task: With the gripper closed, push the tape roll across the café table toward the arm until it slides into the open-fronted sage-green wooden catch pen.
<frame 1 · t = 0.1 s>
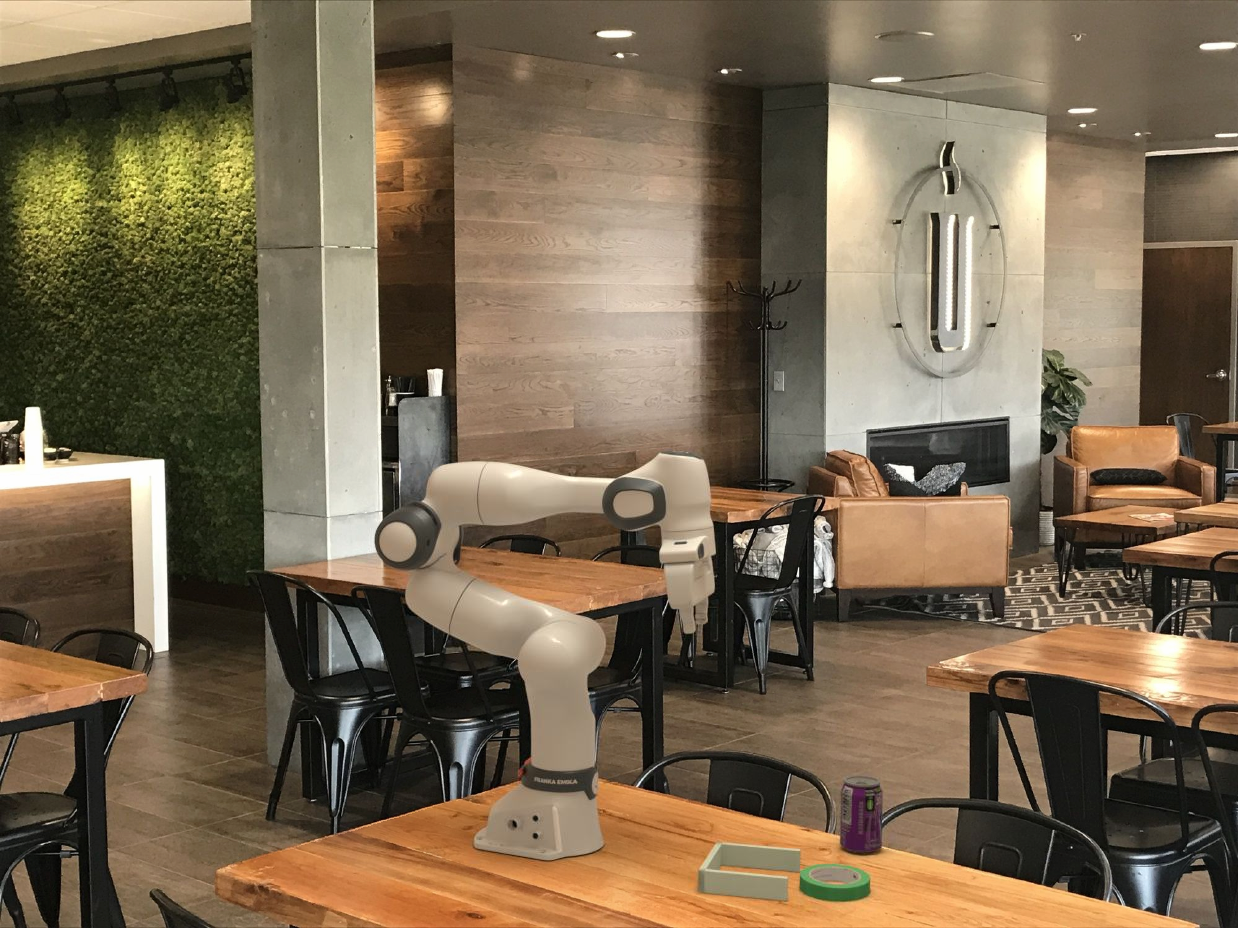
hand: (696, 628, 245), 39 cm above the table, tool pointing down, fingers open, 8 cm apart
tape roll: (834, 892, 231), on the table
beverage can: (860, 850, 251), on the table
catch pen: (753, 881, 234), on the table
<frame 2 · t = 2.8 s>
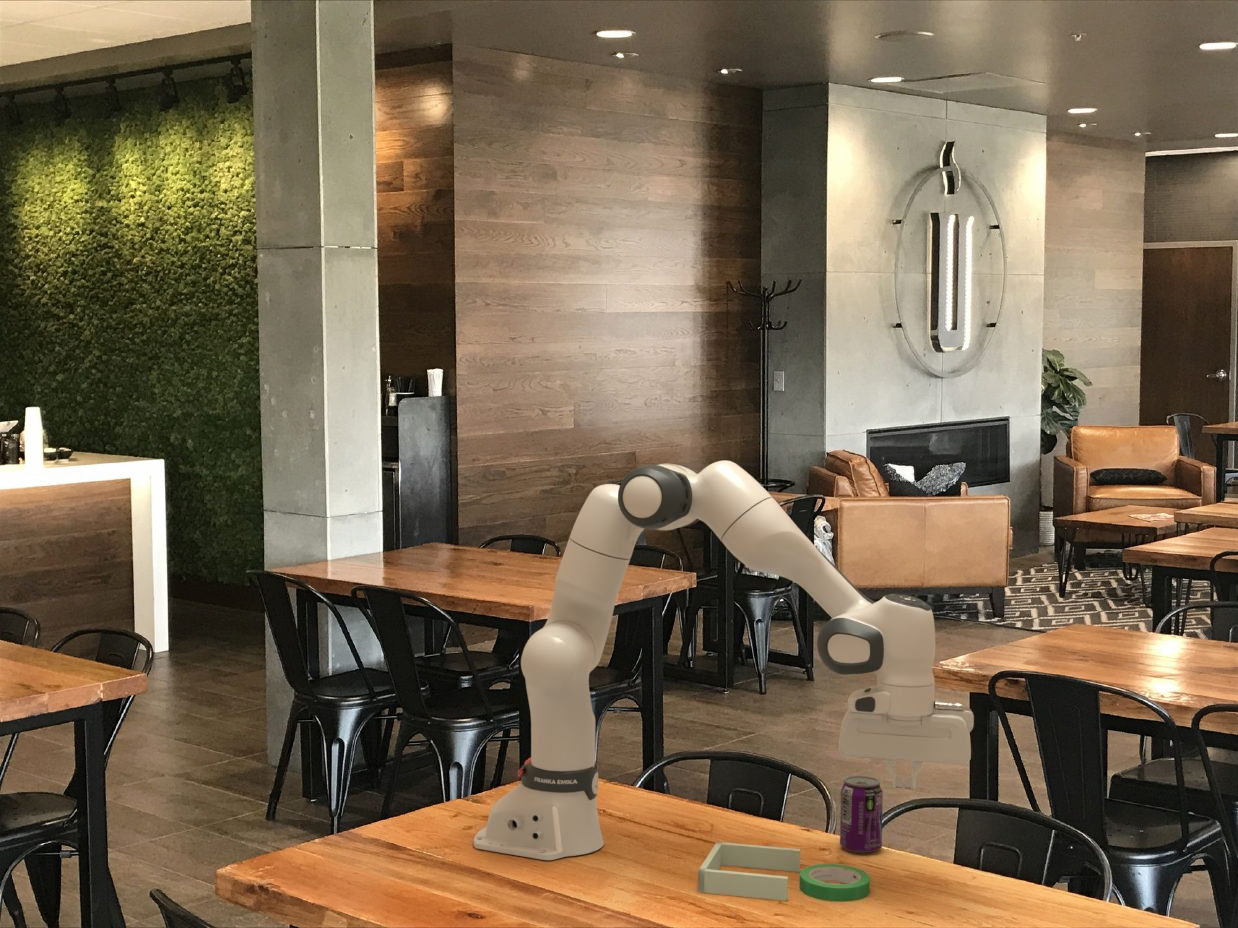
hand: (903, 787, 227), 17 cm above the table, tool pointing down, fingers closed
nothing on the table moved.
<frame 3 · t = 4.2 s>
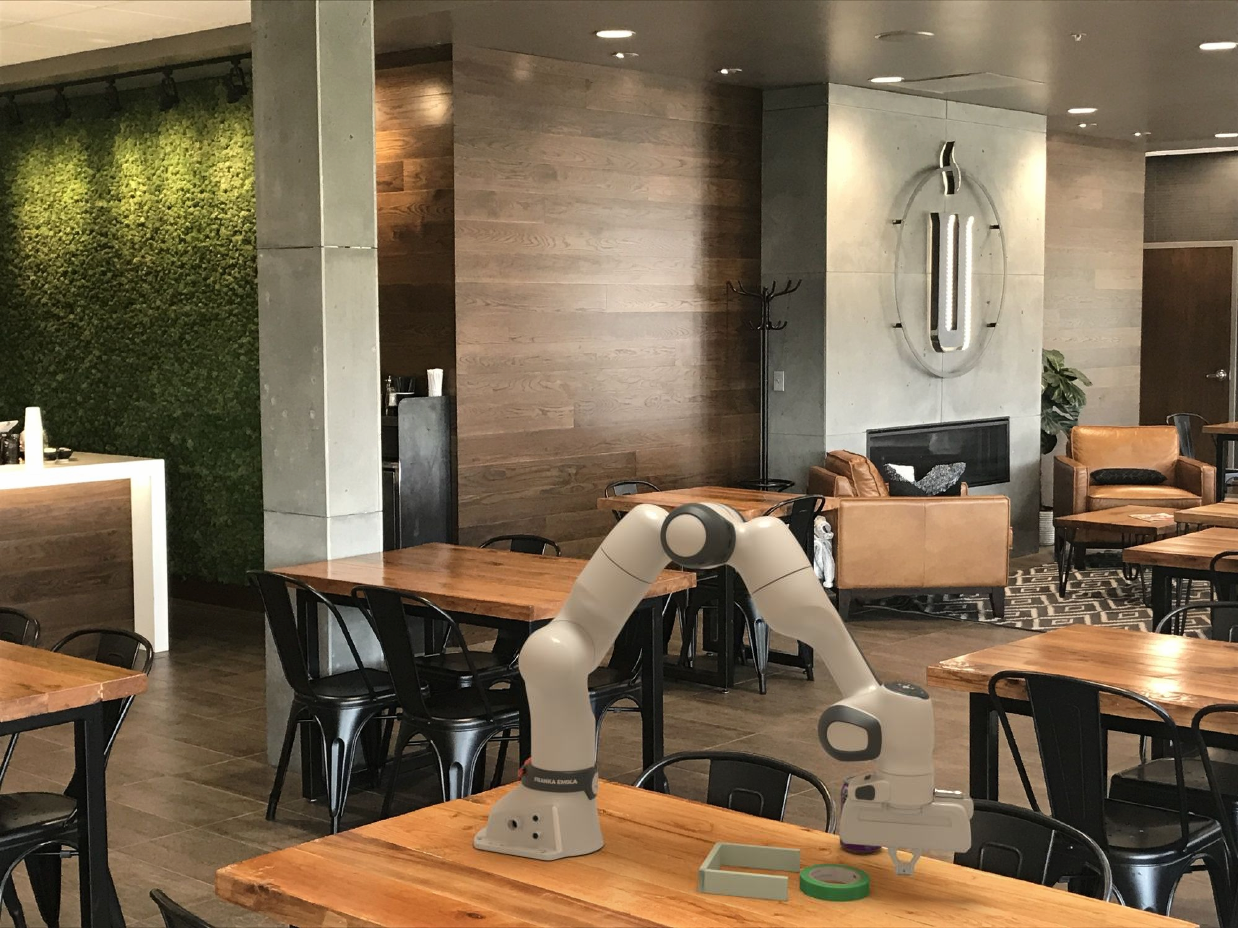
hand: (904, 874, 228), 3 cm above the table, tool pointing down, fingers closed
nothing on the table moved.
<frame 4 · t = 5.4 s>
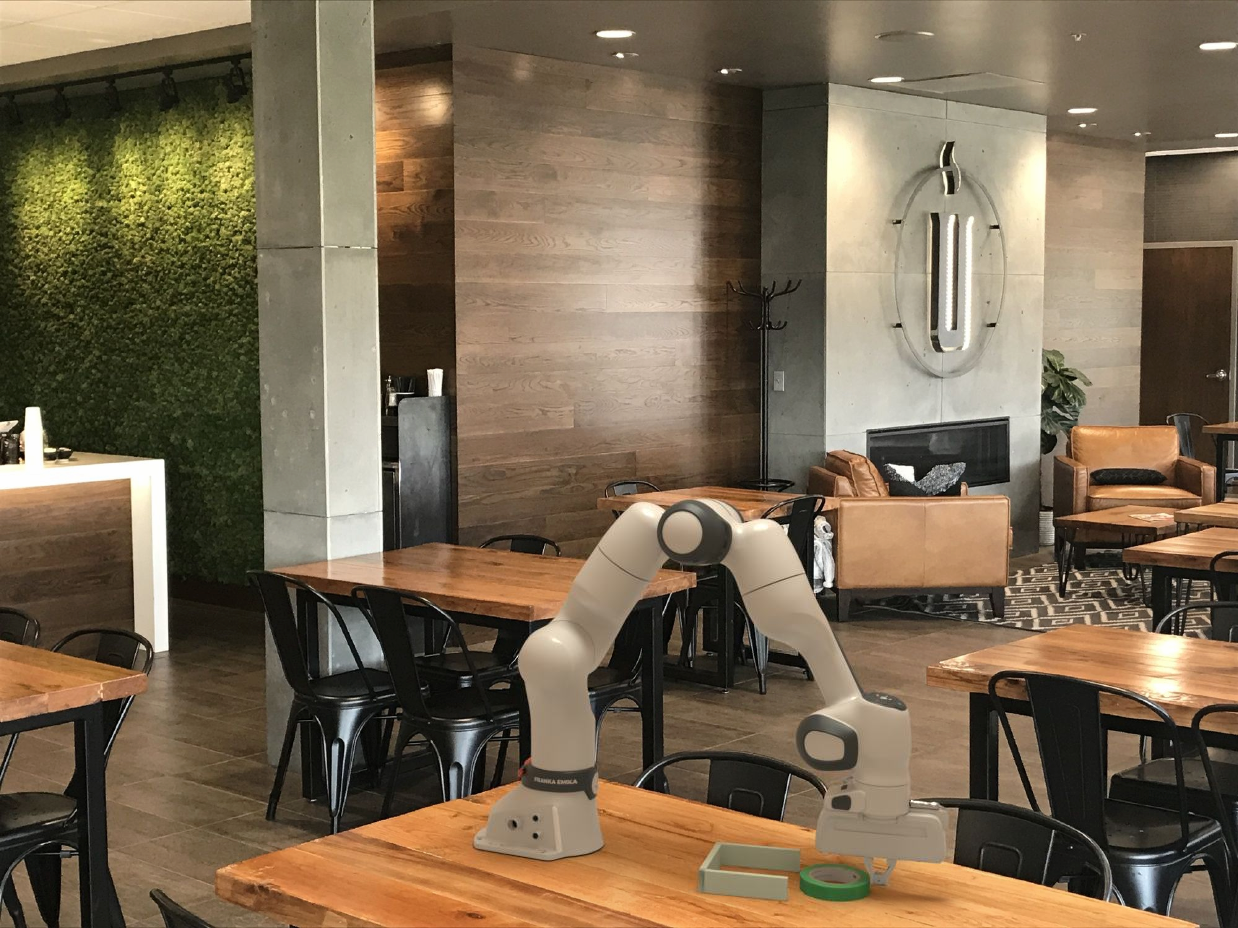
hand: (879, 884, 229), 1 cm above the table, tool pointing down, fingers closed
tape roll: (834, 892, 231), on the table, touching gripper
everything else where it was.
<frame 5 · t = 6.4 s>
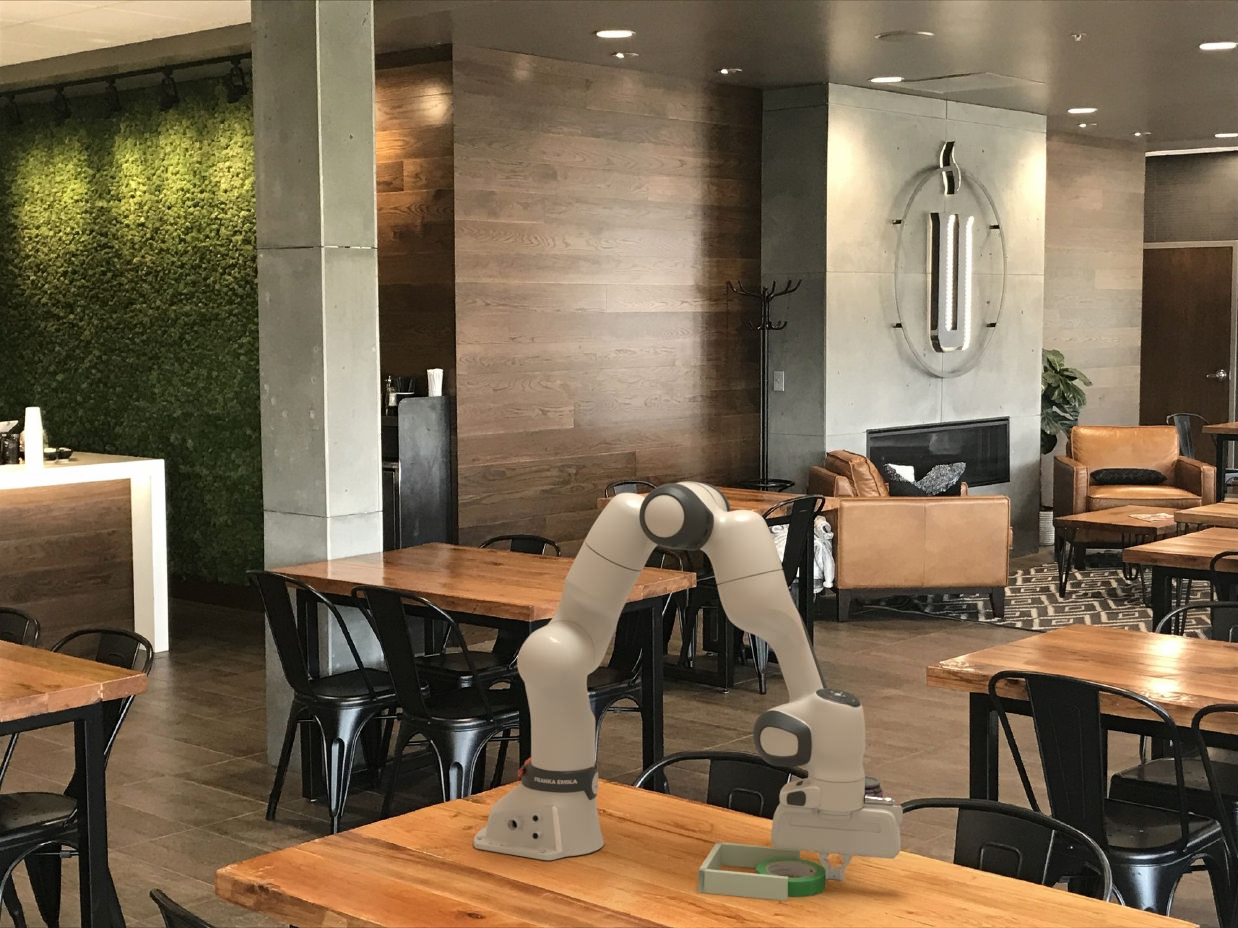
hand: (834, 879, 231), 2 cm above the table, tool pointing down, fingers closed
tape roll: (790, 886, 233), on the table, touching gripper
everything else where it was.
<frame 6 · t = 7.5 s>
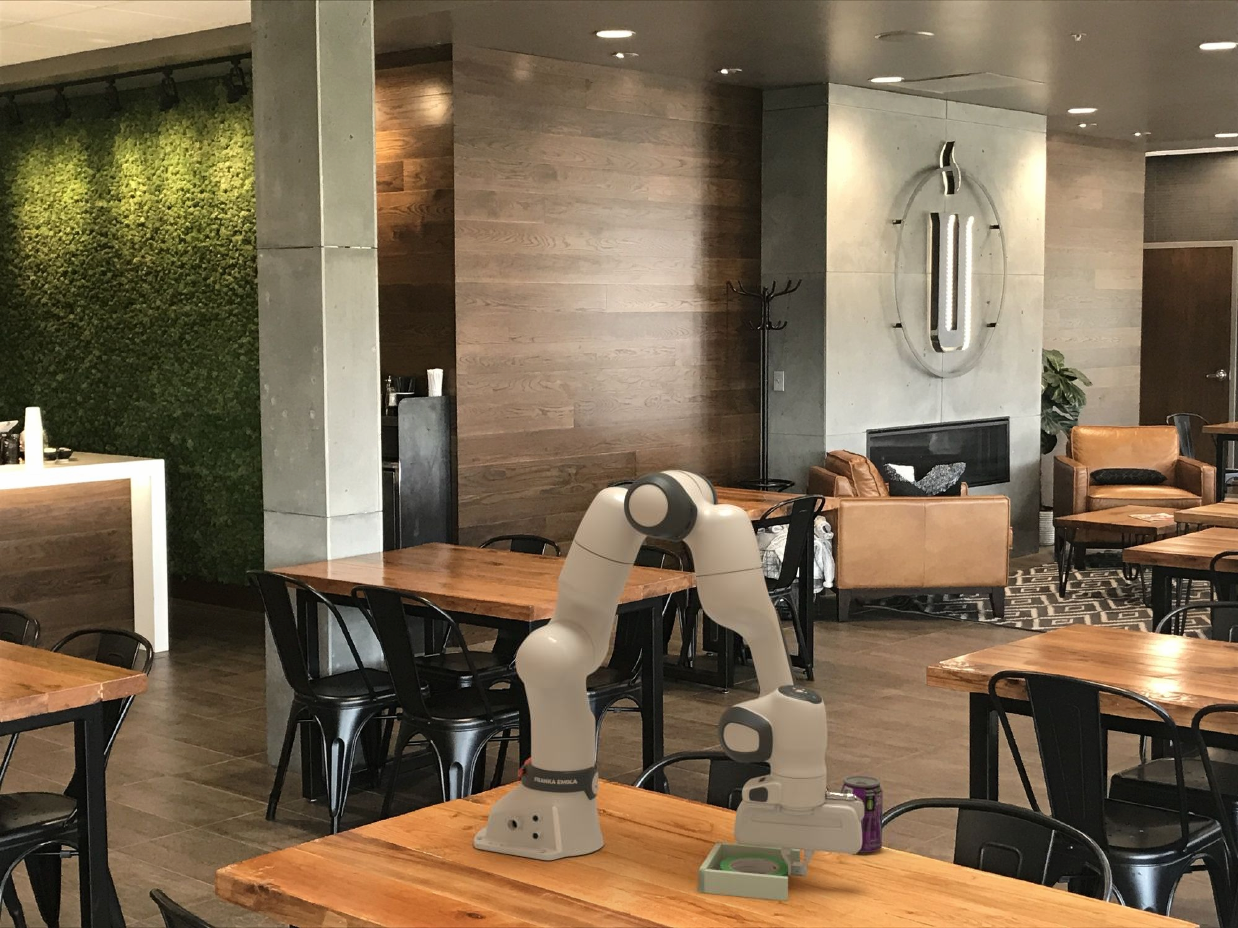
hand: (797, 874, 232), 2 cm above the table, tool pointing down, fingers closed
tape roll: (754, 882, 234), on the table, touching gripper
everything else where it was.
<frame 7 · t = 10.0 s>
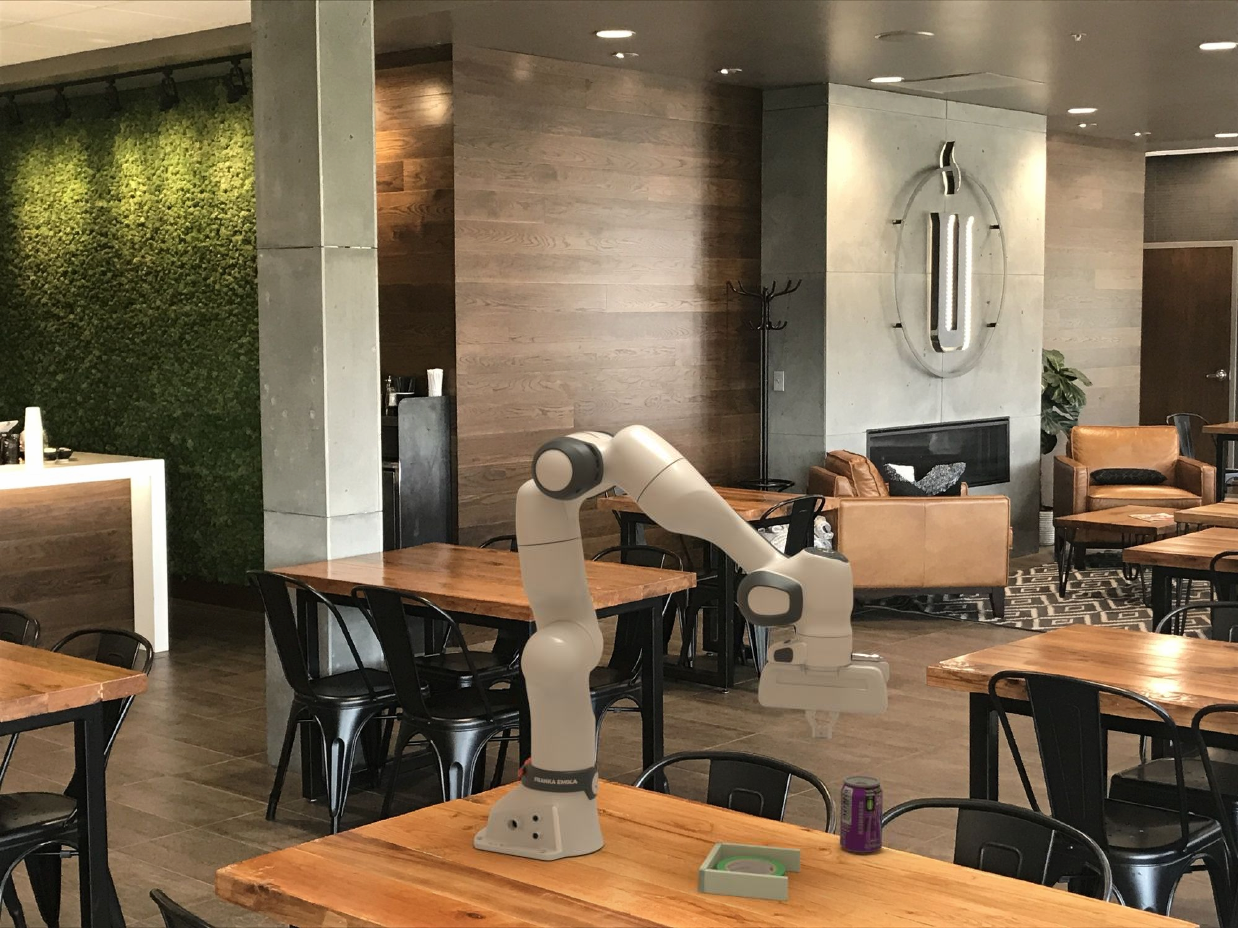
hand: (821, 737, 231), 24 cm above the table, tool pointing down, fingers closed
tape roll: (750, 884, 234), on the table
everything else where it was.
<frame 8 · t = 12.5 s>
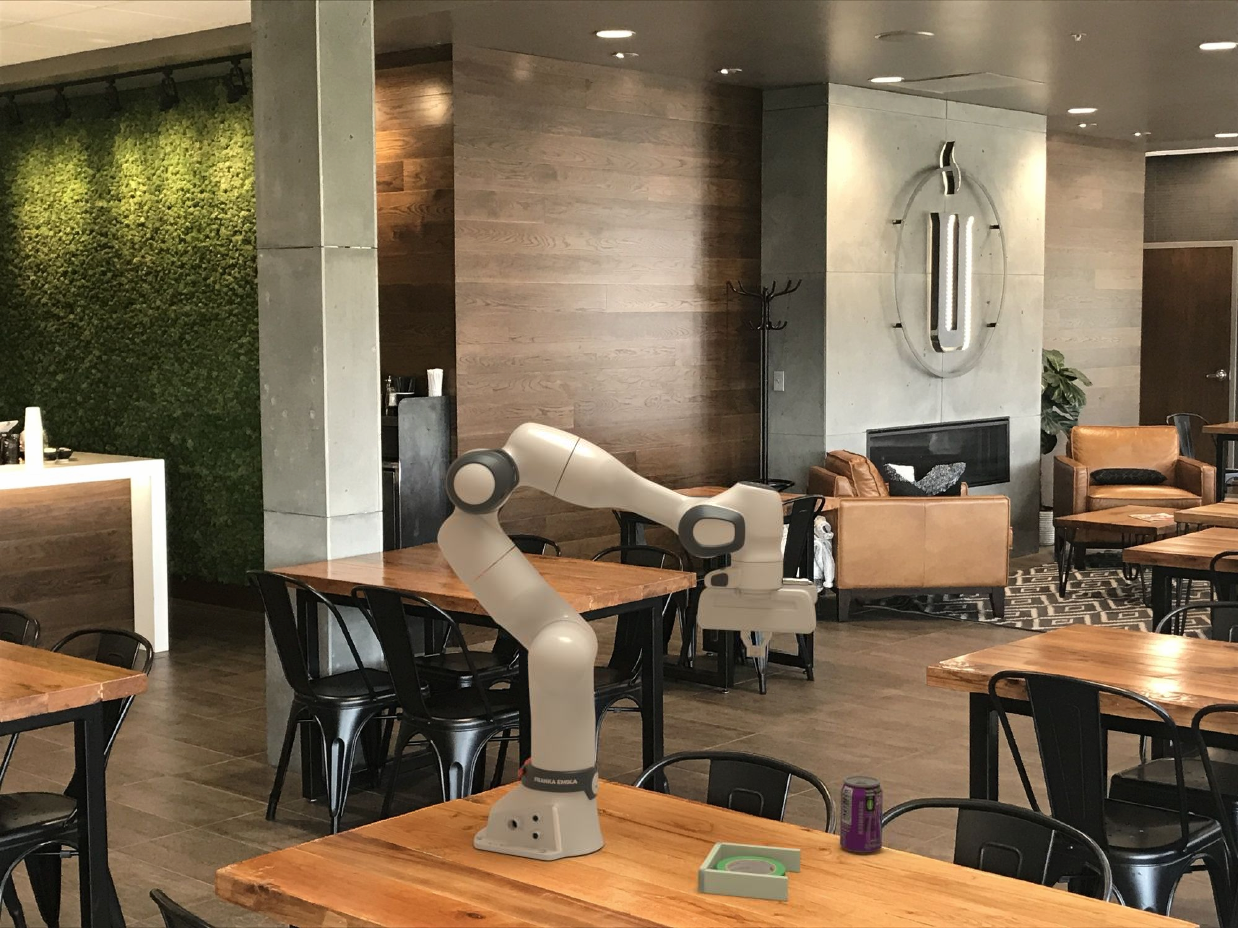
hand: (756, 656, 250), 33 cm above the table, tool pointing down, fingers closed
nothing on the table moved.
at the end: tape roll inside the target area on the catch pen (1.6 cm from its centre), point -0.6 cm above the catch pen's base; tape roll moved 13.4 cm from its start; the gripper is holding nothing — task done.
